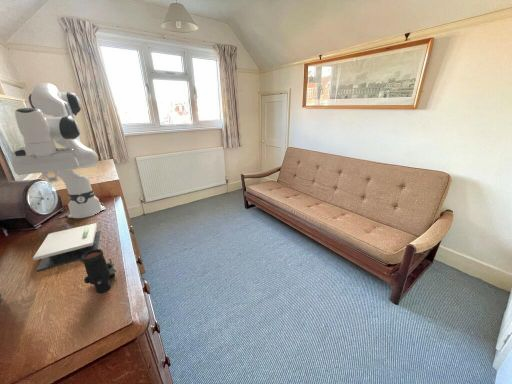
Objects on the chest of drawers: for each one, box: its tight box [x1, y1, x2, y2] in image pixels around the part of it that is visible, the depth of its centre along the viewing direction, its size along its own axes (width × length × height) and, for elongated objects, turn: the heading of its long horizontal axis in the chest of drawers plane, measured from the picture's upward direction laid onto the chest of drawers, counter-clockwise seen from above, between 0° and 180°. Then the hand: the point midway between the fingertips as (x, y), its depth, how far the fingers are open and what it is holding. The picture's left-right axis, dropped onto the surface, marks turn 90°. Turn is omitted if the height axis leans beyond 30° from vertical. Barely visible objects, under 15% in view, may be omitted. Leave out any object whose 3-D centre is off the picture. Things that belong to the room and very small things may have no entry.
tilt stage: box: [32, 222, 98, 262], centre depth 93 cm, size 22×18×3 cm
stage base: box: [35, 230, 102, 273], centre depth 94 cm, size 23×19×4 cm
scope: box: [81, 248, 117, 294], centre depth 70 cm, size 8×14×10 cm
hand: (53, 181), depth 93 cm, fingers closed
